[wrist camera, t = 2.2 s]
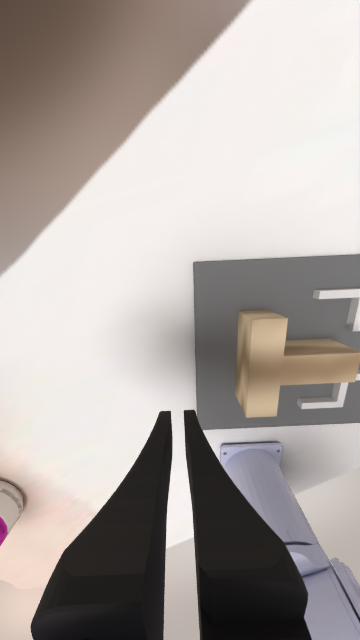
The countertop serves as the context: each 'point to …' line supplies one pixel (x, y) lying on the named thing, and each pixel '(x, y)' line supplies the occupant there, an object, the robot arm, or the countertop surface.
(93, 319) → the countertop surface
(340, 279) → the nest mat
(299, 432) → the countertop surface
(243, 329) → the maple t block
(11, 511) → the supplement can
